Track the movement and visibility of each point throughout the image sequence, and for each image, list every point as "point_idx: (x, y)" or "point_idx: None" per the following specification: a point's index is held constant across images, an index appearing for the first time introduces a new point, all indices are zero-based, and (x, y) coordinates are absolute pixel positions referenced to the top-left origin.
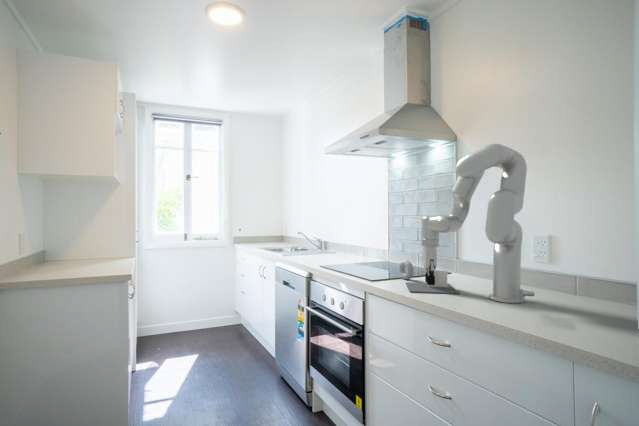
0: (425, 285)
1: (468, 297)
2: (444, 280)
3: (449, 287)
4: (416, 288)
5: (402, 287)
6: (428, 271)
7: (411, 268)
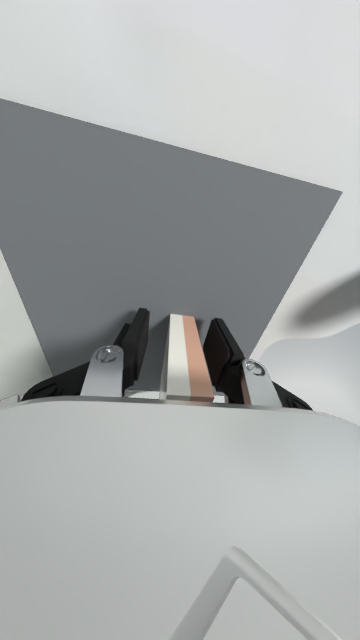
0: (200, 305)
1: (18, 388)
2: (159, 396)
3: (154, 381)
4: (95, 211)
5: (189, 83)
6: (85, 386)
7: None
